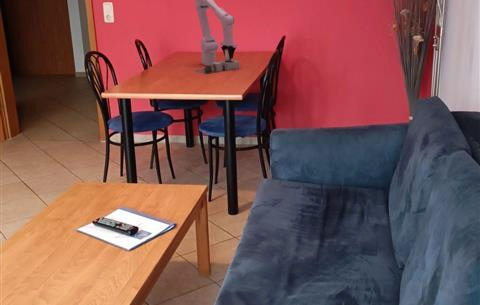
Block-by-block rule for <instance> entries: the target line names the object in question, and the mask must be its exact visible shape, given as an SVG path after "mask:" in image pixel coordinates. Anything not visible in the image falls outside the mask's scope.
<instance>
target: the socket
mask: <svg viewBox="0 0 480 305" xmlns="http://www.w3.org/2000/svg"><path fill="white" fill-rule="evenodd" d="M218 62H219V63H222V68H223V69H225V70H229V71H232V70H231V69H235V70H238V69H237V68H240V61H238V60H233V59H232V62H229V63H227V62H225V60H221V61H218Z"/></svg>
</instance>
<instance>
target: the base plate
mask: <svg viewBox="0 0 480 305" xmlns="http://www.w3.org/2000/svg"><path fill="white" fill-rule="evenodd" d="M240 69H241V70H242V67H239V68H237V69H231V70H225V69H223V70H221V71H212V72H205V68H199V69H194V70H193V69H192V72H195V73H199V74H203V75H211V74H217V73H223V72H229V71H235V70H240Z"/></svg>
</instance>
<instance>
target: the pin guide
mask: <svg viewBox="0 0 480 305" xmlns="http://www.w3.org/2000/svg"><path fill="white" fill-rule="evenodd" d="M219 62H220V61H218V62H217V61H216V62H214V63H212V65H211V66H212V68H213V67H216V71H221V70H223V68H222V63H219Z"/></svg>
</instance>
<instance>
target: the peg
mask: <svg viewBox="0 0 480 305" xmlns="http://www.w3.org/2000/svg"><path fill="white" fill-rule="evenodd" d="M224 58H225V60H224V61H225V62H227V63H229V62H232V60H233V59H229V53H228V50H227V49H225V56H224Z"/></svg>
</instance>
